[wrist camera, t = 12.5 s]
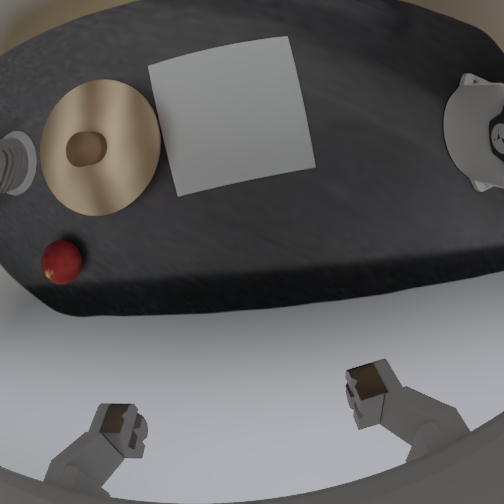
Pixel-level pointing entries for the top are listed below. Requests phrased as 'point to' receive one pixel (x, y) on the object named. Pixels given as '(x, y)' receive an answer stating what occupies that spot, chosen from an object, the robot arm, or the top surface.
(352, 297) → the top surface
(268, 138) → the mat
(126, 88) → the lid
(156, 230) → the top surface
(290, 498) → the robot arm
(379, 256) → the top surface
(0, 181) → the french press
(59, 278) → the pomegranate
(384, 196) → the top surface
